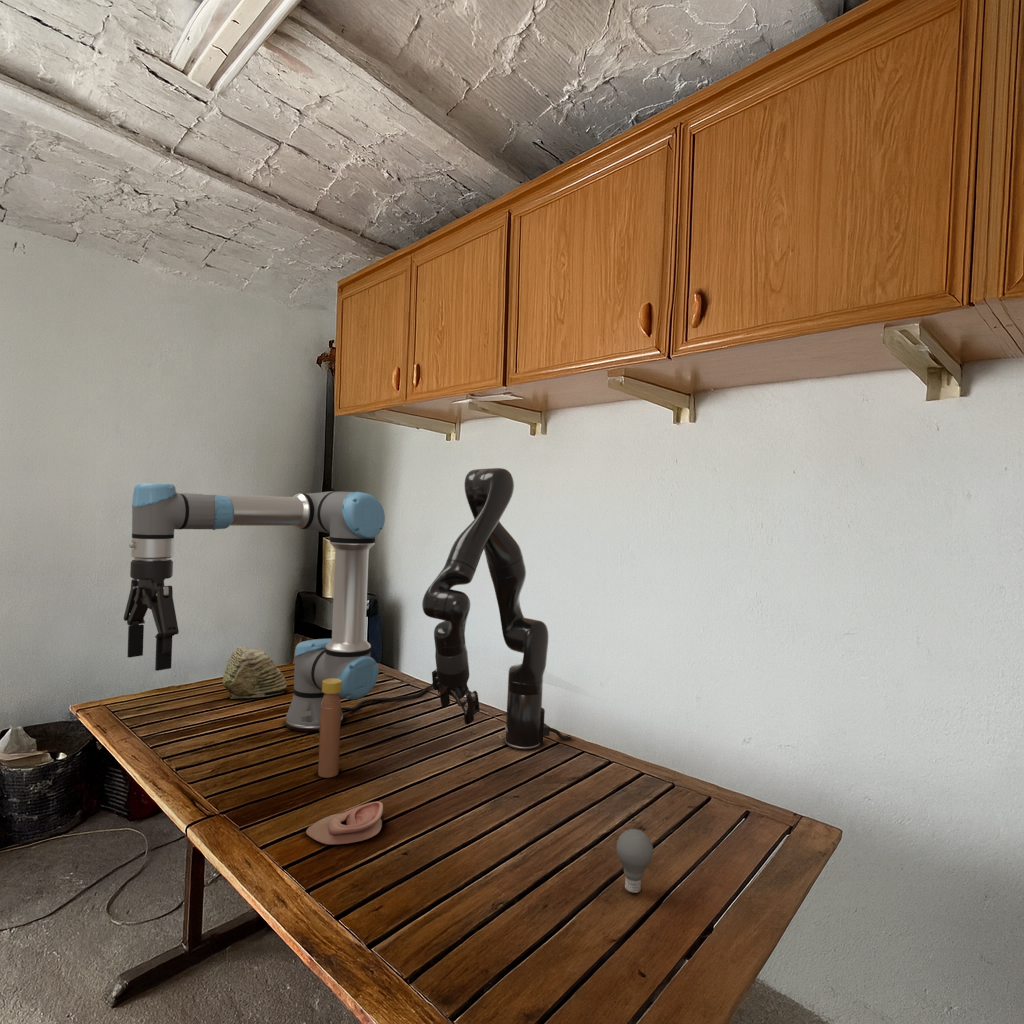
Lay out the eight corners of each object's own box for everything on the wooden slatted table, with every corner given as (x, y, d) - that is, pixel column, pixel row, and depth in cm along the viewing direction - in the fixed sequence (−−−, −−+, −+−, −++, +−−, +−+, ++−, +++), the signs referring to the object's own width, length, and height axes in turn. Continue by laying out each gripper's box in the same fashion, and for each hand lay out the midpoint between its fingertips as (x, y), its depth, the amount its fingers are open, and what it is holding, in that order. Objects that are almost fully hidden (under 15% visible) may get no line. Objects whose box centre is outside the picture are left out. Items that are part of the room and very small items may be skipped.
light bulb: (610, 879, 108) (613, 822, 108) (644, 879, 109) (647, 822, 109) (619, 902, 102) (622, 840, 102) (655, 901, 103) (658, 840, 103)
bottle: (342, 772, 146) (346, 682, 145) (327, 779, 142) (330, 686, 142) (329, 767, 148) (332, 678, 148) (313, 774, 144) (317, 682, 144)
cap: (345, 690, 145) (345, 680, 145) (330, 695, 142) (330, 684, 142) (332, 687, 148) (332, 677, 148) (317, 691, 144) (318, 681, 144)
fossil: (218, 695, 195) (220, 647, 195) (278, 685, 208) (279, 640, 207) (228, 703, 189) (230, 653, 188) (289, 692, 201) (290, 645, 201)
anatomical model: (298, 818, 116) (328, 791, 128) (297, 839, 116) (327, 810, 128) (365, 829, 114) (390, 800, 125) (364, 851, 114) (389, 820, 125)
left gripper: (108, 554, 134) (104, 654, 134) (159, 565, 118) (155, 678, 119) (146, 552, 140) (143, 648, 140) (199, 563, 124) (195, 671, 124)
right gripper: (484, 667, 146) (488, 719, 153) (444, 641, 155) (449, 691, 162) (460, 685, 141) (465, 737, 148) (420, 657, 150) (426, 708, 157)
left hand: (148, 662), depth 129 cm, fingers open, 13 cm apart
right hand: (457, 713), depth 155 cm, fingers open, 8 cm apart
